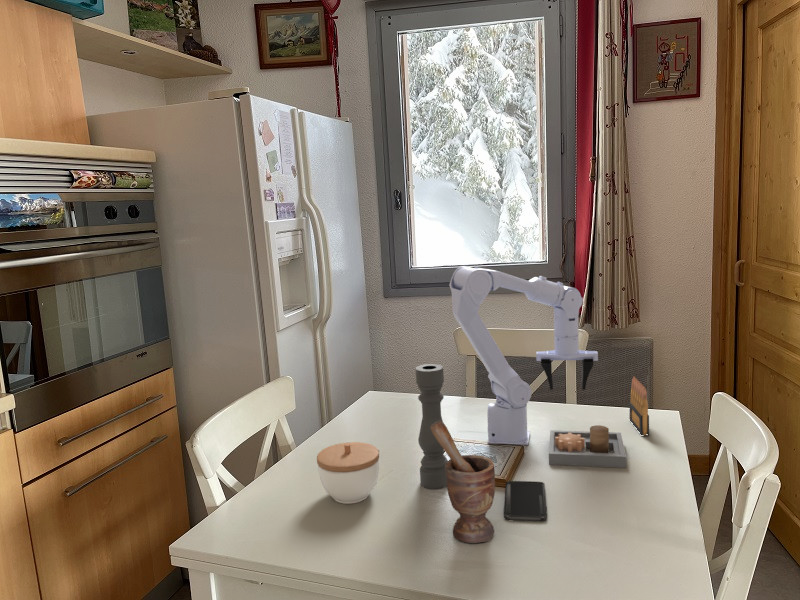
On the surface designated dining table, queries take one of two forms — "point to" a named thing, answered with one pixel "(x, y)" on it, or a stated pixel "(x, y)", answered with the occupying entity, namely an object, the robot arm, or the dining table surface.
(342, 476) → the lidded bowl
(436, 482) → the candle holder
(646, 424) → the ammunition clip
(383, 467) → the dining table surface
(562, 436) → the housing
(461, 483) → the mortar and pestle
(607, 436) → the brown rounded cylinder
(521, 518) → the phone
